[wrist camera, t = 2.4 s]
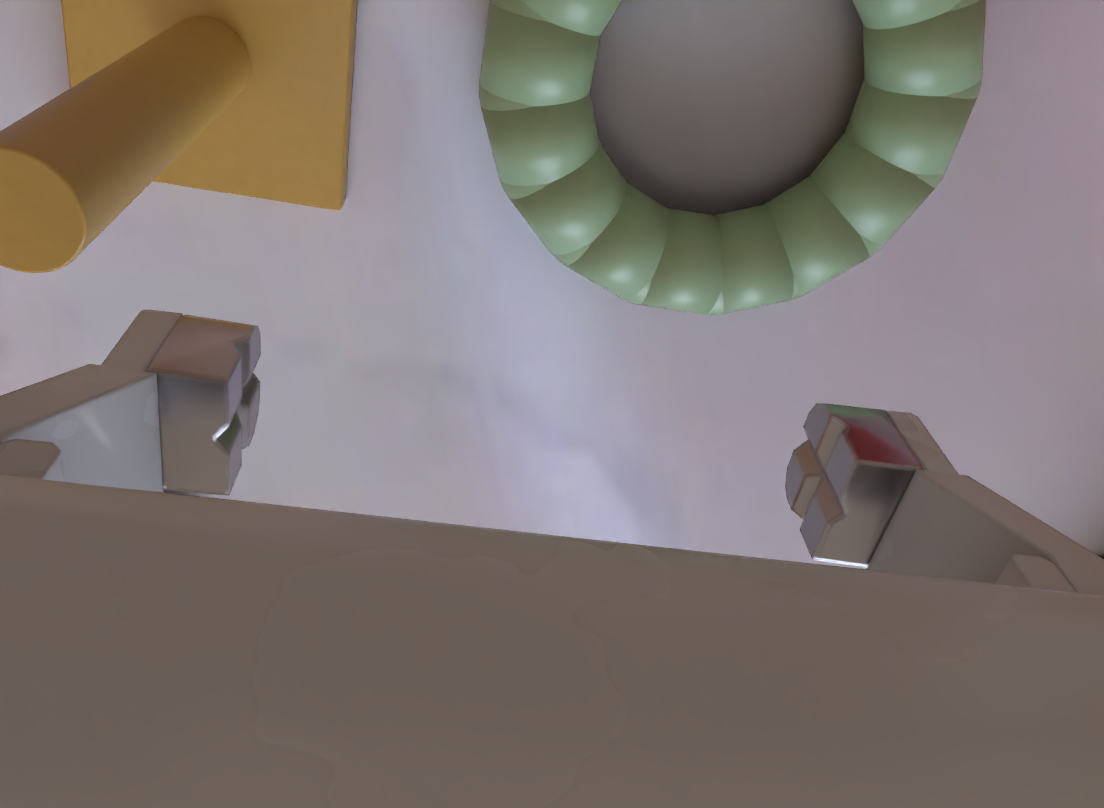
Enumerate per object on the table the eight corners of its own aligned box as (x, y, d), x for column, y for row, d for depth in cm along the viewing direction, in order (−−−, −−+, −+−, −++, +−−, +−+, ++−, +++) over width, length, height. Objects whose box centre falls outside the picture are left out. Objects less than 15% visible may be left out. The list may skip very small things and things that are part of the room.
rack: (361, -69, 25) (244, 19, 15) (345, 200, 30) (245, 424, 19) (63, -128, 24) (-305, -81, 14) (90, 159, 29) (-171, 371, 18)
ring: (1042, -148, 25) (1105, -143, 22) (855, 313, 33) (885, 358, 30) (525, -266, 23) (526, -276, 20) (456, 251, 31) (450, 293, 28)
